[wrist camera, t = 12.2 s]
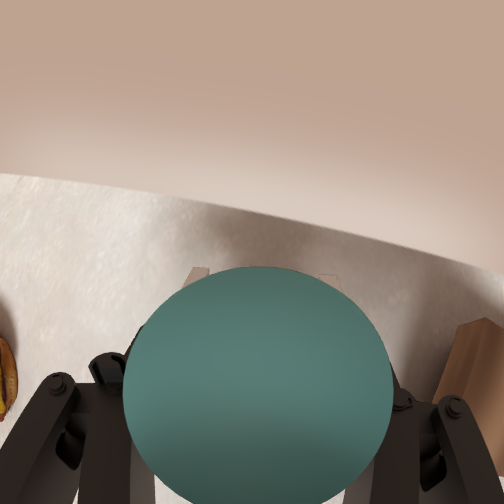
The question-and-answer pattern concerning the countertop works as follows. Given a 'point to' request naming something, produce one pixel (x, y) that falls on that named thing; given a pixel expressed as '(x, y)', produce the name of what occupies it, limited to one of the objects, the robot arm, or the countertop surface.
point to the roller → (258, 389)
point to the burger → (7, 379)
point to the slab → (479, 381)
